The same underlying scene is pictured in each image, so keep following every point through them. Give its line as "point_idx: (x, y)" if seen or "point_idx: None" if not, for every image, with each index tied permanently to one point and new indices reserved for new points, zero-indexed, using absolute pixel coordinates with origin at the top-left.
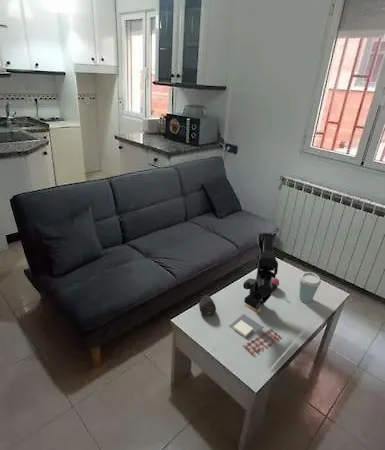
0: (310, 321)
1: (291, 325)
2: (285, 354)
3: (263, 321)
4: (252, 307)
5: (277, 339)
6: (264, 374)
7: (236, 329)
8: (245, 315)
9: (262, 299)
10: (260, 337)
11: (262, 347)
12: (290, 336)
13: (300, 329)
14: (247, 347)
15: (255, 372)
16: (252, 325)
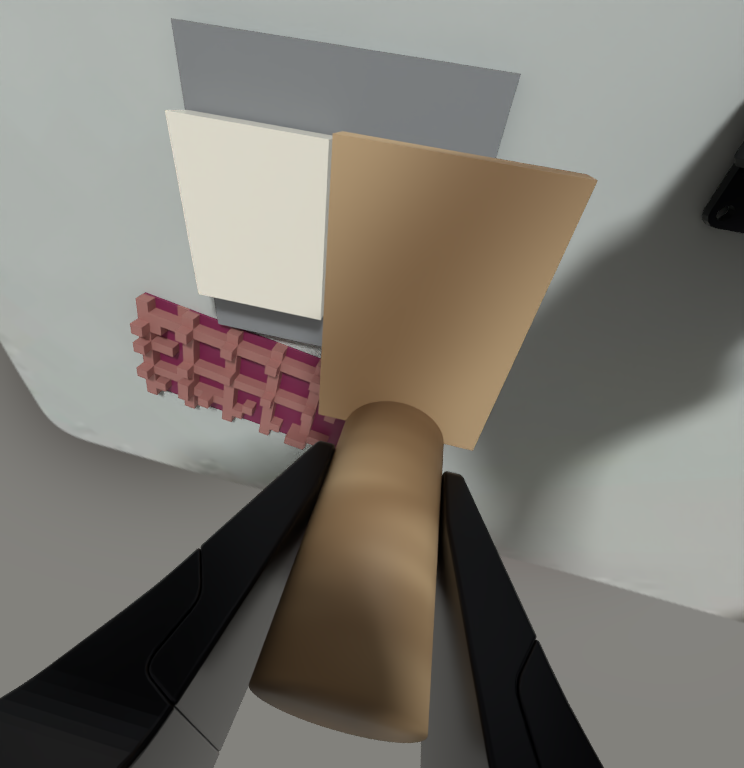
0: (674, 577)
1: (576, 504)
2: None
3: None
4: (371, 351)
5: None
6: (136, 444)
7: (184, 166)
8: (502, 124)
9: (444, 738)
10: (308, 379)
11: (244, 411)
12: None
13: (560, 540)
14: (157, 333)
15: (102, 411)
16: None
